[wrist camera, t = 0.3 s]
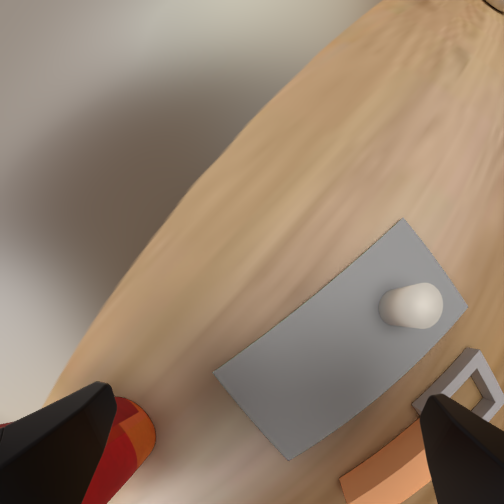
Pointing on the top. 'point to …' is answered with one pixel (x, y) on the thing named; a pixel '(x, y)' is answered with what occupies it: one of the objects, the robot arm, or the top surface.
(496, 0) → the plastic bottle
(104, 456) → the coffee cup
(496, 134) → the top surface
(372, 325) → the keeper
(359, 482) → the square frame with handle
